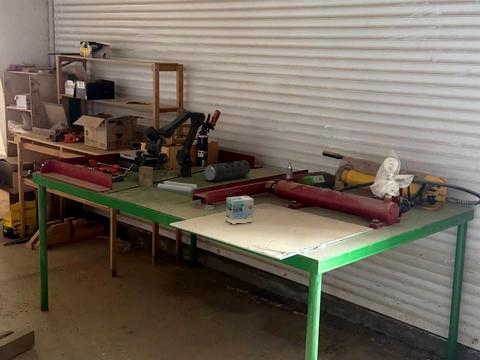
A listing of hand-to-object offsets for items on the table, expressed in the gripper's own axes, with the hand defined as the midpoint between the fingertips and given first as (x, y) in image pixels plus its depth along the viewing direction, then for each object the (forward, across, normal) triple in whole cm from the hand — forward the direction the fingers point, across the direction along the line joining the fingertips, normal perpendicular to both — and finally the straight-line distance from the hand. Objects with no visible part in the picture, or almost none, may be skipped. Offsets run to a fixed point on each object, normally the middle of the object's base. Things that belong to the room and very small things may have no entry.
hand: (147, 169), depth 318 cm
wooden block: (+7, 0, +5) cm, 9 cm away
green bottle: (-13, +83, +25) cm, 88 cm away
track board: (+7, +19, +5) cm, 21 cm away
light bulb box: (+37, +70, -24) cm, 83 cm away
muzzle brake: (-18, +34, +31) cm, 49 cm away
